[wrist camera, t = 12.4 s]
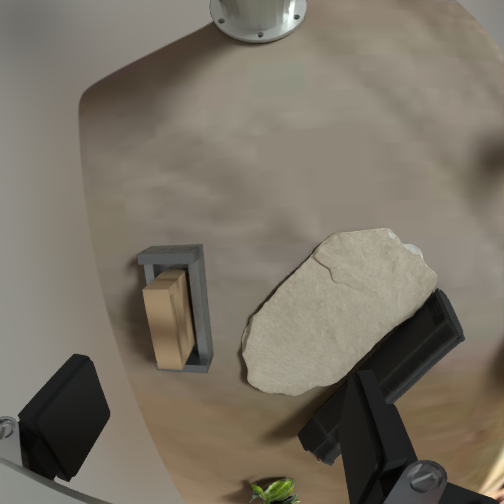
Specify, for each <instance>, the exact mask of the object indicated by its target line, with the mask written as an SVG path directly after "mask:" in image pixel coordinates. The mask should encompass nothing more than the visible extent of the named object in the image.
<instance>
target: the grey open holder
mask: <svg viewBox="0 0 504 504" xmlns="http://www.w3.org/2000/svg"><path fill="white" fill-rule="evenodd" d="M137 259H138V265H144V270H145V277H146V284H147V285H148V284H149V283H150V282H152V281H153V280H154V279H155V278H156V277H157V276H158V275H160V274H161V273H162V272H163V271H164V270H165V269H178V268H188V274H189V282H190V290H191V297H192V305H193V312H194V320H195V328H196V336H197V340H196V342H195V344H194V346H193V348H192V350H191V352H190V355H189V357H188V359H187V361H186V363H185V365H184V367H183V370H176V369H159V368H158V364H157V361H156V367H157V370H164V371H177V372H193V373H208V370H209V367H210V364H211V361H212V358H213V355H214V354H213V345H212V336H211V327H210V318H209V309H208V299H207V288H206V277H205V266H204V254H203V244H197V245H169V246H151V247H149V248H148V249H146V250H144V251H143V252H141V253H139V254H137Z"/></svg>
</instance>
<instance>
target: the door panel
mask: <svg viewBox="0 0 504 504" xmlns="http://www.w3.org/2000/svg"><path fill="white" fill-rule="evenodd" d="M142 291H143V297H144V302H145V308H146V313H147V318H148V323H149V328H150V333H151V338H152V342H153V347H154V351H155V355H156V360H157V364H158V368H159V369H176V370H183V367H184V365H185V363H186V361H187V359H188V357H189V355H190V352H191V350H192V348H193V346H194V344H195V342H196V340H197V336H196V328H195V320H194V312H193V305H192V297H191V290H190V282H189V274H188V268H178V269H165V270H164V271H163V272H162V273H161V274H160V275H158V276H157V277H156V278H155V279H154V280H153V281H152V282H150V283H149V284H148V285H147V286H146V287H145V288H144V289H143V290H142Z"/></svg>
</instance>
